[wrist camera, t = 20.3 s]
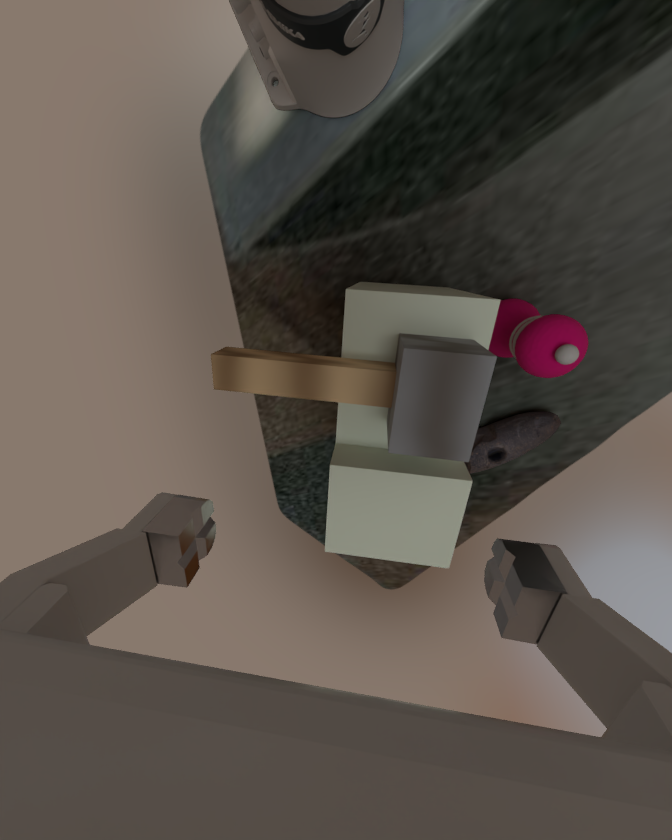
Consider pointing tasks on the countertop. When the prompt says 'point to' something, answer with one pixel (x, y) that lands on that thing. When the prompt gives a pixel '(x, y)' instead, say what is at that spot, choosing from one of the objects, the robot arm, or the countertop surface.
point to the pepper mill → (538, 339)
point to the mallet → (382, 388)
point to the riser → (367, 433)
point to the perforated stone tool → (510, 439)
